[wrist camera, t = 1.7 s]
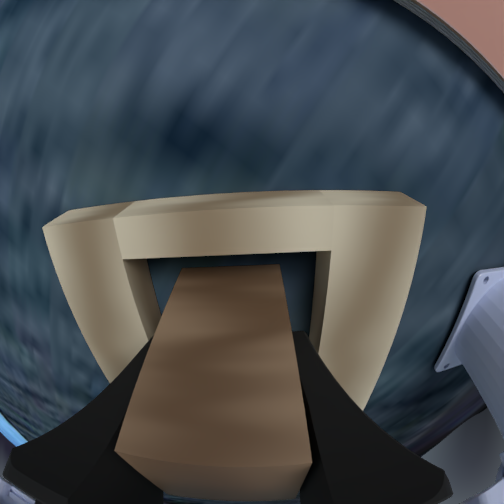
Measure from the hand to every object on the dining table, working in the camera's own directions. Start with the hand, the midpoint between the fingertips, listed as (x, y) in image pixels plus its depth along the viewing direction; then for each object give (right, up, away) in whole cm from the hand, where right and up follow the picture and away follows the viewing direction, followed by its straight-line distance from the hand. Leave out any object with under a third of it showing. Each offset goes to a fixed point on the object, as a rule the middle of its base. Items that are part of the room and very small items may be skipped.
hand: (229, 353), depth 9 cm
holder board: (0, -1, +4) cm, 4 cm away
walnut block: (0, +1, +3) cm, 3 cm away
